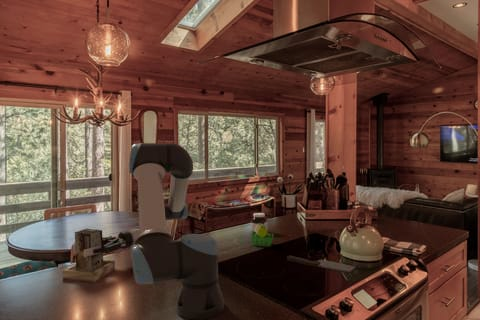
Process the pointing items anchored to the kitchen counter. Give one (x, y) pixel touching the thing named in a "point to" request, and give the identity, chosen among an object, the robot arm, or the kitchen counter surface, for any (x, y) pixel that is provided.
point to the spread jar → (258, 221)
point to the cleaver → (322, 264)
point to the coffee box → (85, 241)
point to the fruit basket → (262, 237)
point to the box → (88, 276)
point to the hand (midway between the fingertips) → (78, 250)
